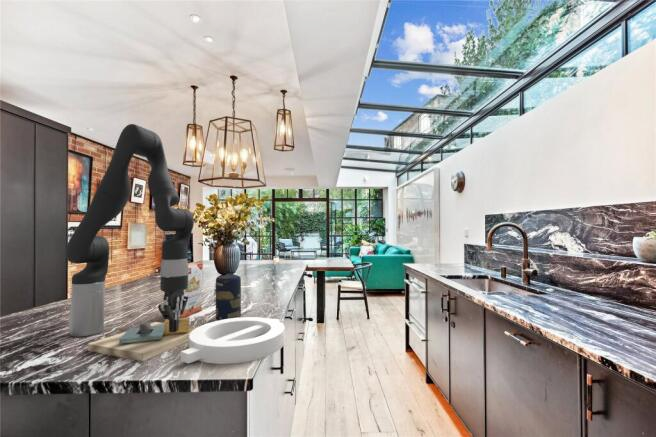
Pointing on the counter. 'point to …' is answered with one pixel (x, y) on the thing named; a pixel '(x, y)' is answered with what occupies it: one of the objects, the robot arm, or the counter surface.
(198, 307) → the cracker box
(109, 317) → the counter surface
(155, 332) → the t-shaped piece
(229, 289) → the canister
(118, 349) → the base board
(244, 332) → the white circle with bar
